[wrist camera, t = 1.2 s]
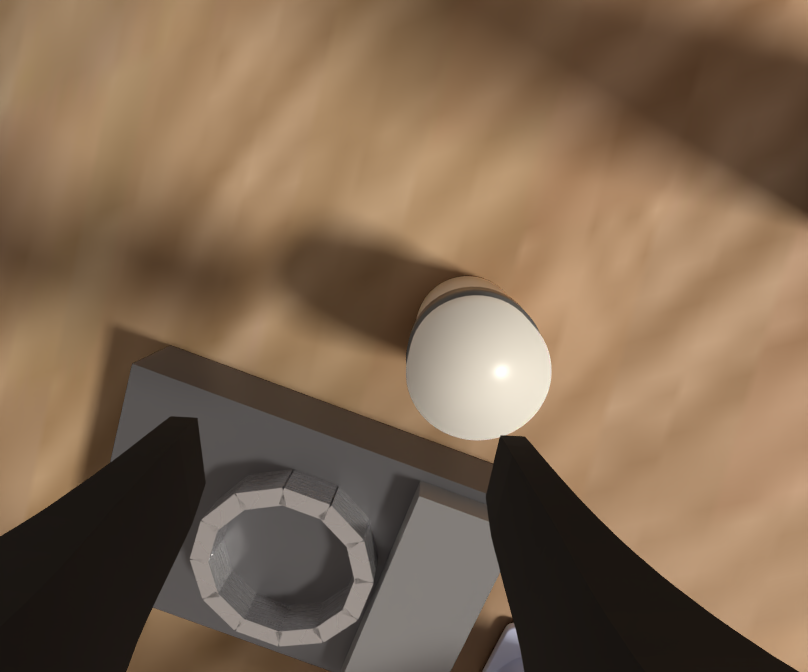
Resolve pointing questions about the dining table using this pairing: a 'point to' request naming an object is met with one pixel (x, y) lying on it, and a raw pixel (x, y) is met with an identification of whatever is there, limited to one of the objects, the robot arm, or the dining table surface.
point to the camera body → (308, 536)
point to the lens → (476, 361)
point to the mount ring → (262, 612)
